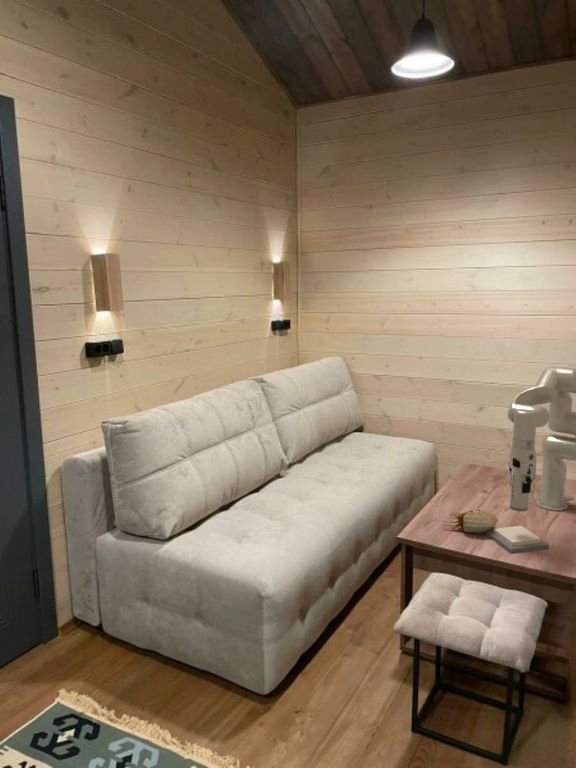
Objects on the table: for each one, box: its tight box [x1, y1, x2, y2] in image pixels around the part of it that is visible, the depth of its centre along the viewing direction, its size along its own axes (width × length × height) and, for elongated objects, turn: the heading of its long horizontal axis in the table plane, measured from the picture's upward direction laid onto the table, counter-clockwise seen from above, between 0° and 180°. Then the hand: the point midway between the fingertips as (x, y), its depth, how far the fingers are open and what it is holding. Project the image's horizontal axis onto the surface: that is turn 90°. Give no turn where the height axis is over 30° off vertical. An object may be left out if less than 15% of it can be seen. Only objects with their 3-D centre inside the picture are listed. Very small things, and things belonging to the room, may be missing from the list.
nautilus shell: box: [442, 509, 499, 533], centre depth 232 cm, size 8×22×15 cm
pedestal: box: [485, 525, 550, 554], centre depth 221 cm, size 16×16×3 cm
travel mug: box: [509, 458, 530, 512], centre depth 218 cm, size 6×7×20 cm
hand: (520, 489), depth 218 cm, fingers closed on travel mug, 6 cm apart
